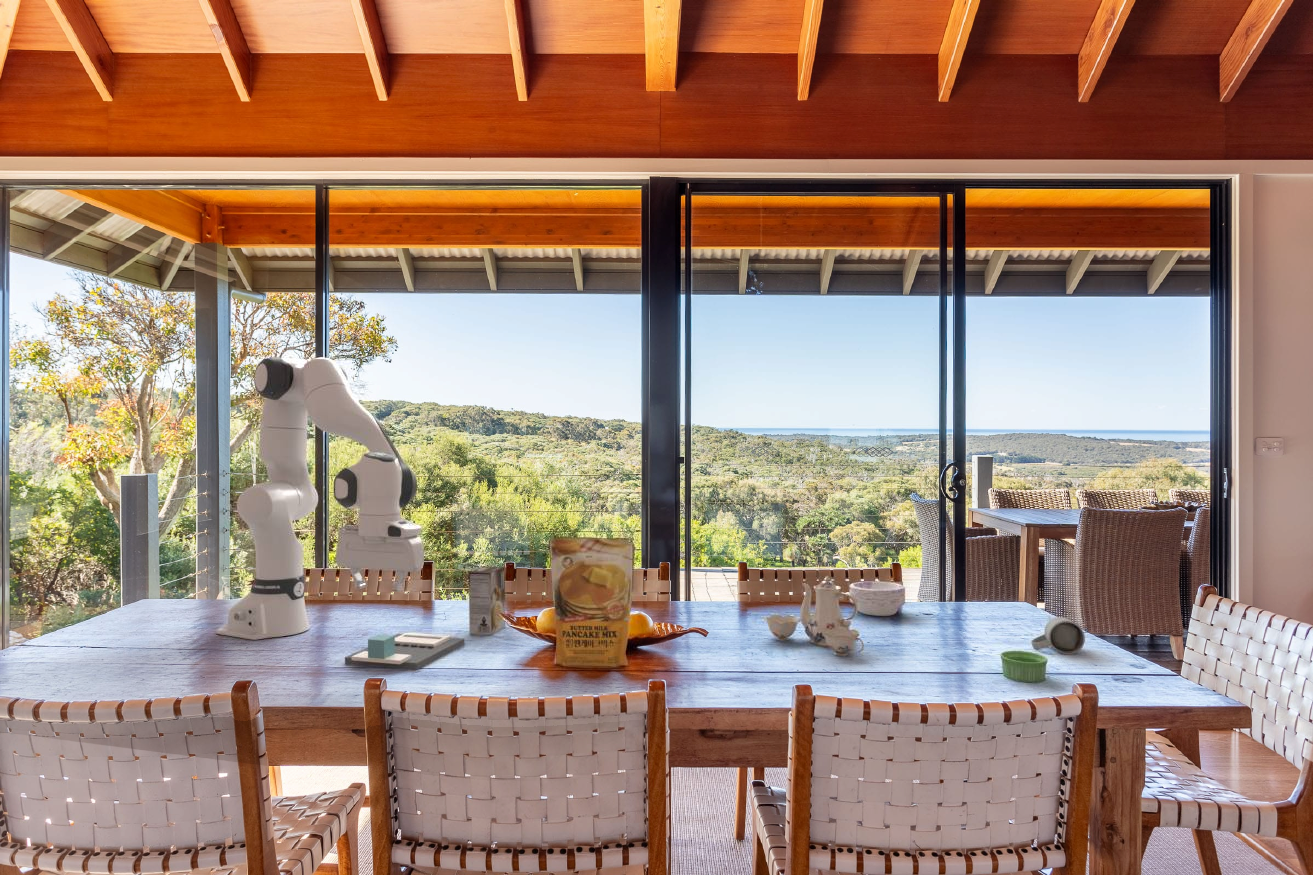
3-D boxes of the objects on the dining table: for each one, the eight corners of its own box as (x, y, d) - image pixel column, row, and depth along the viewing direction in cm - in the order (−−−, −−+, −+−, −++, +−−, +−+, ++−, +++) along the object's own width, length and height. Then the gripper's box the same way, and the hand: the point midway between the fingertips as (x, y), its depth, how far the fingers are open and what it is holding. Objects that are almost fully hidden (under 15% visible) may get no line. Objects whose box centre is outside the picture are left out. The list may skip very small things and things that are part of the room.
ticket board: (344, 663, 175) (344, 653, 175) (399, 639, 196) (399, 630, 196) (416, 670, 171) (416, 658, 171) (464, 644, 191) (464, 634, 191)
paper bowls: (861, 604, 235) (861, 578, 234) (912, 611, 226) (912, 583, 226) (841, 614, 222) (841, 586, 222) (894, 621, 213) (894, 592, 213)
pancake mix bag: (552, 658, 179) (551, 535, 179) (635, 660, 178) (635, 536, 178) (545, 667, 173) (545, 539, 172) (632, 669, 171) (631, 540, 171)
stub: (351, 660, 173) (351, 638, 173) (363, 654, 177) (363, 633, 177) (399, 664, 170) (399, 641, 170) (411, 658, 174) (411, 636, 174)
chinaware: (753, 646, 196) (749, 580, 194) (791, 627, 207) (787, 565, 206) (854, 669, 176) (850, 596, 175) (890, 647, 188) (886, 578, 187)
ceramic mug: (1076, 646, 189) (1075, 614, 189) (1085, 655, 181) (1085, 622, 181) (1028, 644, 191) (1027, 612, 191) (1035, 653, 183) (1034, 620, 183)
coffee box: (483, 625, 210) (483, 565, 210) (506, 626, 209) (505, 566, 208) (468, 634, 201) (468, 571, 201) (492, 635, 200) (491, 572, 199)
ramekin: (1033, 670, 170) (1033, 650, 170) (1056, 683, 161) (1056, 662, 161) (992, 670, 170) (992, 650, 170) (1013, 684, 161) (1013, 662, 161)
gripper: (329, 525, 173) (328, 588, 173) (411, 530, 167) (410, 595, 167) (348, 522, 179) (347, 583, 179) (428, 527, 173) (427, 589, 173)
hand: (378, 589), depth 173 cm, fingers open, 8 cm apart
